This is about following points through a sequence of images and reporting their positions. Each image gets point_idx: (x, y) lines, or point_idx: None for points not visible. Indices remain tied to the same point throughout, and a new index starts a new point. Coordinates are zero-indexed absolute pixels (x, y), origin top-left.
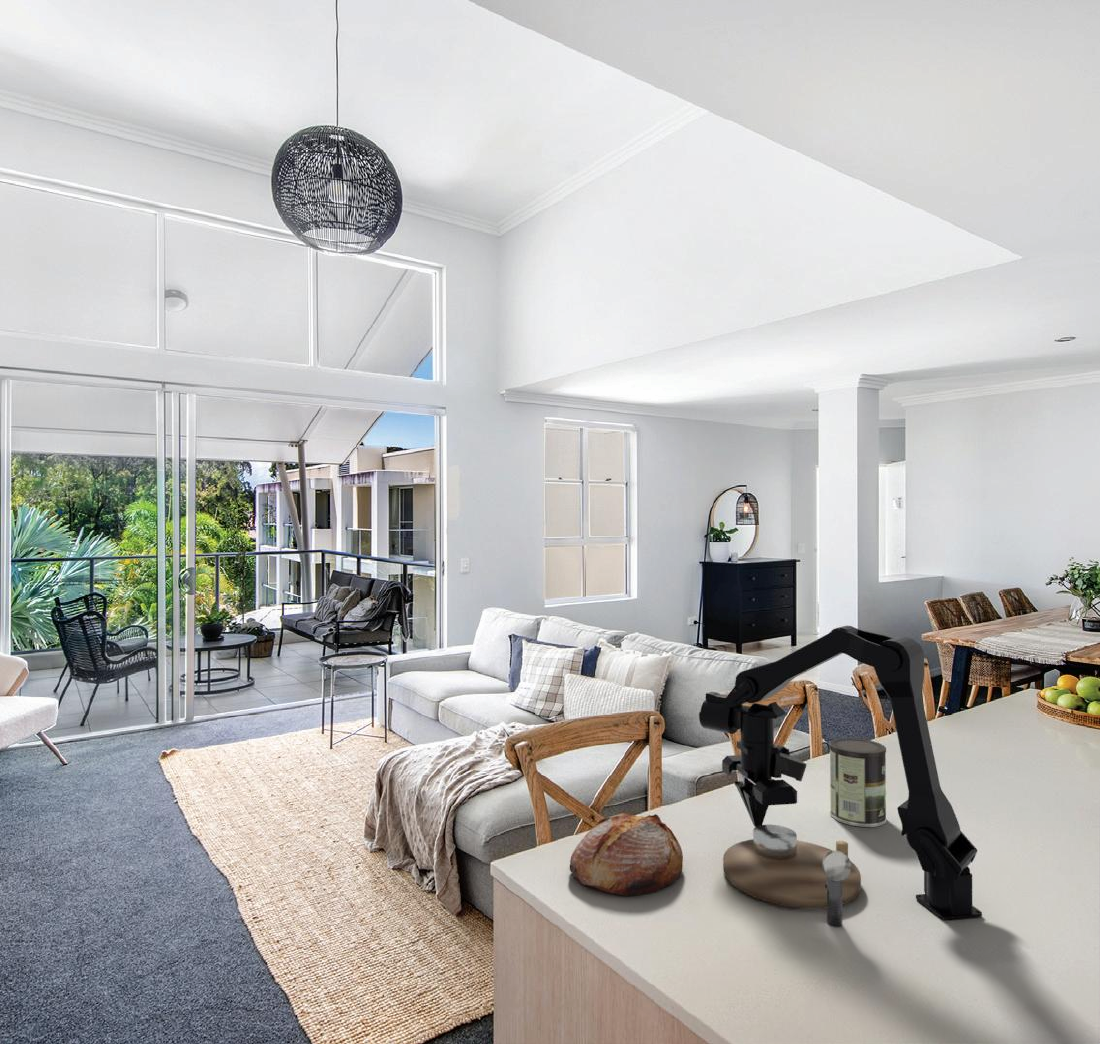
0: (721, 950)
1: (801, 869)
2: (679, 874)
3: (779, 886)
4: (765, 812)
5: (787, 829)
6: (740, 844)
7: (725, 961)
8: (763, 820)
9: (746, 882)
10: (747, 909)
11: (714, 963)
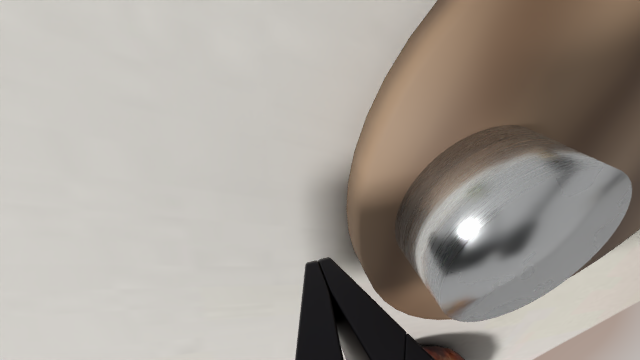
0: (607, 282)
1: (616, 149)
2: (440, 350)
3: (622, 223)
4: (399, 327)
5: (541, 199)
6: (393, 292)
7: (624, 278)
8: (354, 282)
9: None
10: None
11: (617, 287)
